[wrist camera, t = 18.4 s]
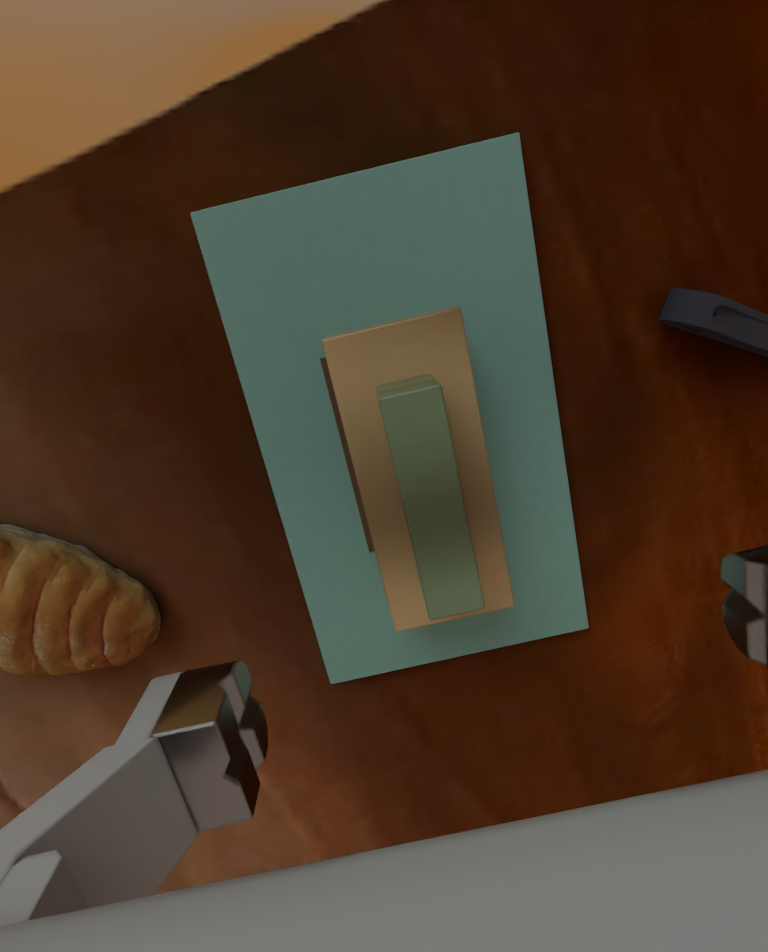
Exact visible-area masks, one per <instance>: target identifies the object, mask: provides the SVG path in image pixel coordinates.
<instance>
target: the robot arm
mask: <svg viewBox="0 0 768 952" xmlns="http://www.w3.org/2000/svg"><path fill="white" fill-rule="evenodd" d="M721 580H722V581H723V582H724V583H725V584H726V585H727V586H728V587H729V588H730V589H731V590H730V592H729V593H728V595H727V597H726V598H725V600H724V601H723V603H722V604H723V614H724V622H725V624H726V627H727V630H728V632H729V635H730V637H731V639H732V640H733V642H734V643H735V645H736V646H737V648H738V649H739V650H740V651H741V652H742V653H743V654H744V655H745V656H746V657H747V658H748V659H751V660H754V661H757V662H759V663H762V664H765V665H767V667H768V545H766V546H762V547H758V548H754V549H749V550H745V551H741V552H737V553H733V554H729V555H725V556H723V559H722V563H721ZM252 683H253V679H252V677H251V674H250V672H249V669H248V667H247V664H245V663H244V662H243V661H242V660H238V661H233V662H228V663H223V664H218V665H213V666H208V667H203V668H198V669H192V670H187V671H185V672H183V671H181V672H176V673H172V674H168V675H164V676H160V677H157V678H155V679H153V680H151V682H150V683H149V685H148V687H147V689H146V690H145V692H144V694H143V696H142V698H141V699H140V701H139V703H138V705H137V706H136V708H135V710H134V712H133V713H132V715H131V717H130V719H129V720H128V722H127V724H126V726H125V727H124V729H123V731H122V733H121V735H120V736H119V738H118V740H117V742H116V743H115V745H114V746H109V747H105V748H104V749H102V750H101V751H100V752H98V753H97V754H96V755H95V756H93V757H92V758H91V759H90V760H88V761H87V762H86V763H84V764H83V765H82V766H81V767H79V768H78V769H77V770H76V771H74V772H73V773H72V774H70V775H69V776H68V777H67V778H65V779H64V780H63V781H61V782H60V783H59V784H58V785H56V786H55V787H54V788H53V789H51V790H50V791H49V792H47V793H46V794H45V795H44V796H42V797H41V798H40V799H39V800H37V801H36V802H35V803H33V804H32V805H31V806H30V807H28V808H27V809H26V810H24V811H23V812H22V813H21V814H19V815H18V816H17V817H16V818H14V819H13V820H12V821H10V822H9V823H8V824H7V825H5V826H4V827H3V828H2V829H0V952H768V769H767V770H762V771H757V772H752V773H748V774H743V775H738V776H733V777H728V778H723V779H718V780H713V781H708V782H704V783H699V784H694V785H689V786H684V787H679V788H674V789H669V790H664V791H660V792H655V793H650V794H645V795H640V796H635V797H631V798H626V799H621V800H616V801H611V802H606V803H601V804H596V805H591V806H586V807H582V808H577V809H572V810H567V811H562V812H557V813H552V814H547V815H542V816H538V817H533V818H528V819H523V820H518V821H513V822H508V823H503V824H498V825H493V826H489V827H484V828H479V829H474V830H469V831H464V832H459V833H454V834H449V835H444V836H440V837H435V838H430V839H425V840H420V841H415V842H410V843H405V844H400V845H396V846H391V847H386V848H381V849H376V850H371V851H366V852H361V853H356V854H351V855H347V856H342V857H337V858H332V859H327V860H322V861H317V862H312V863H307V864H302V865H298V866H293V867H288V868H283V869H278V870H273V871H268V872H263V873H258V874H254V875H249V876H244V877H239V878H234V879H229V880H224V881H219V882H214V883H209V884H205V885H200V886H195V887H190V888H185V889H180V890H175V891H170V892H165V893H160V894H156V895H154V894H155V892H156V891H157V890H158V888H159V887H160V886H161V884H162V883H163V882H164V881H165V879H166V878H167V877H168V875H169V874H170V873H171V871H172V870H173V869H174V867H175V866H176V865H177V863H178V862H179V861H180V859H181V858H182V857H183V855H184V854H185V853H186V851H187V850H188V849H189V847H190V846H191V845H192V843H193V842H194V841H195V839H196V838H197V837H198V836H199V834H198V832H201V831H205V830H209V829H213V828H217V827H221V826H226V825H230V824H234V823H238V822H242V821H246V820H251V819H252V818H253V814H254V809H255V805H256V800H257V796H258V791H259V787H260V781H259V778H258V776H257V773H256V770H257V769H258V768H259V767H260V766H261V765H262V764H263V763H264V762H265V758H266V753H267V748H268V731H267V724H266V719H265V714H264V711H263V708H262V705H261V702H259V701H258V700H256V699H255V698H254V697H252V696H251V695H249V693H250V690H251V686H252Z"/></svg>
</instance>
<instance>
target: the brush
mask: <svg viewBox="0 0 768 952" xmlns="http://www.w3.org/2000/svg"><path fill="white" fill-rule="evenodd" d="M322 345H323V349H324V353H325V357H326V361H327V365H328V369H329V373H330V377H331V381H332V384H333V388H334V392H335V396H336V400H337V404H338V408H339V412H340V416H341V420H342V424H343V428H344V432H345V436H346V440H347V444H348V448H349V452H350V456H351V459H352V463H353V467H354V471H355V475H356V479H357V483H358V487H359V491H360V495H361V499H362V503H363V507H364V511H365V515H366V519H367V523H368V527H369V531H370V535H371V538H372V542H373V546H374V550H375V554H376V558H377V562H378V566H379V570H380V574H381V578H382V582H383V586H384V590H385V594H386V598H387V602H388V606H389V610H390V614H391V617H392V621H393V625H394V629H395V631H396V632H400V631H405V630H409V629H414V628H418V627H423V626H427V625H432V624H437V623H441V622H446V621H450V620H455V619H459V618H464V617H468V616H473V615H477V614H482V613H486V612H491V611H495V610H500V609H505V608H509V607H513V606H514V598H513V593H512V587H511V582H510V576H509V570H508V565H507V559H506V554H505V548H504V543H503V537H502V532H501V526H500V521H499V515H498V510H497V504H496V499H495V493H494V488H493V482H492V477H491V471H490V466H489V460H488V455H487V449H486V444H485V438H484V433H483V427H482V422H481V416H480V411H479V405H478V400H477V394H476V389H475V383H474V378H473V372H472V367H471V361H470V356H469V350H468V344H467V339H466V333H465V328H464V322H463V317H462V311H461V308H460V307H447V308H442V309H438V310H434V311H430V312H425V313H421V314H417V315H413V316H409V317H404V318H400V319H396V320H392V321H388V322H383V323H379V324H375V325H371V326H366V327H362V328H358V329H354V330H350V331H345V332H341V333H337V334H333V335H329V336H327V337H325V338H324V339H323V340H322Z"/></svg>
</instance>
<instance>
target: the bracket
mask: <svg viewBox="0 0 768 952" xmlns="http://www.w3.org/2000/svg"><path fill="white" fill-rule="evenodd" d="M658 321H659V322H661V323H663V324H665V325H668V326H671V327H674V328H677V329H680V330H683V331H686V332H689V333H693V334H696V335H699V336H702V337H705V338H708V339H712V340H715V341H718V342H721V343H724V344H727V345H731V346H734V347H737V348H740V349H743V350H746V351H750V352H753V353H756V354H759V355H762V356H765V357H768V315H767V314H764V313H762V312H759V311H757V310H754V309H752V308H750V307H747V306H745V305H742V304H740V303H738V302H736V301H734V300H731V299H729V298H726V297H723V296H719V295H715V294H711V293H707V292H702V291H696V290H689V289H679V288H675V289H670V291H669V294H668V296H667V299H666V301H665V304H664V306H663V309H662V311H661V314H660V316H659V319H658Z"/></svg>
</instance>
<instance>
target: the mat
mask: <svg viewBox="0 0 768 952" xmlns="http://www.w3.org/2000/svg"><path fill="white" fill-rule="evenodd" d="M190 215H191V218H192V221H193V225H194V228H195V231H196V235H197V238H198V242H199V245H200V248H201V252H202V255H203V258H204V262H205V265H206V268H207V272H208V275H209V278H210V282H211V285H212V288H213V292H214V295H215V298H216V302H217V305H218V309H219V312H220V315H221V319H222V322H223V325H224V329H225V332H226V335H227V339H228V342H229V345H230V349H231V352H232V355H233V359H234V362H235V365H236V369H237V372H238V376H239V379H240V382H241V386H242V389H243V392H244V396H245V399H246V402H247V406H248V409H249V412H250V416H251V419H252V422H253V426H254V429H255V432H256V436H257V439H258V443H259V446H260V449H261V453H262V456H263V459H264V463H265V466H266V469H267V473H268V476H269V479H270V483H271V486H272V489H273V493H274V496H275V499H276V503H277V506H278V510H279V513H280V516H281V520H282V523H283V526H284V530H285V533H286V536H287V540H288V543H289V546H290V550H291V553H292V556H293V560H294V563H295V566H296V570H297V573H298V577H299V580H300V583H301V587H302V590H303V593H304V597H305V600H306V603H307V607H308V610H309V613H310V617H311V620H312V623H313V627H314V630H315V633H316V637H317V640H318V643H319V647H320V650H321V654H322V657H323V660H324V664H325V667H326V670H327V674H328V677H329V680H330V684H335V683H339V682H344V681H349V680H353V679H358V678H362V677H367V676H372V675H376V674H381V673H385V672H390V671H395V670H399V669H404V668H408V667H413V666H417V665H422V664H427V663H431V662H436V661H440V660H445V659H450V658H454V657H459V656H463V655H468V654H473V653H477V652H482V651H486V650H491V649H495V648H500V647H505V646H509V645H514V644H518V643H523V642H528V641H532V640H537V639H541V638H546V637H551V636H555V635H560V634H564V633H569V632H573V631H578V630H583V629H587V628H589V626H588V619H587V612H586V605H585V598H584V591H583V584H582V576H581V569H580V562H579V555H578V548H577V541H576V534H575V527H574V520H573V512H572V505H571V498H570V491H569V484H568V477H567V470H566V463H565V455H564V448H563V441H562V434H561V427H560V420H559V413H558V406H557V398H556V391H555V384H554V377H553V370H552V363H551V356H550V349H549V341H548V334H547V327H546V320H545V313H544V306H543V299H542V292H541V285H540V277H539V270H538V263H537V256H536V249H535V242H534V235H533V228H532V220H531V213H530V206H529V199H528V192H527V185H526V178H525V171H524V163H523V156H522V149H521V142H520V135H519V133H518V132H517V133H513V134H509V135H505V136H501V137H497V138H493V139H489V140H485V141H481V142H477V143H472V144H468V145H464V146H460V147H456V148H452V149H448V150H444V151H440V152H436V153H432V154H428V155H423V156H419V157H415V158H411V159H407V160H403V161H399V162H395V163H391V164H387V165H383V166H379V167H374V168H370V169H366V170H362V171H358V172H354V173H350V174H346V175H342V176H338V177H334V178H329V179H325V180H321V181H317V182H313V183H309V184H305V185H301V186H297V187H293V188H289V189H285V190H280V191H276V192H272V193H268V194H264V195H260V196H256V197H252V198H248V199H244V200H240V201H236V202H231V203H227V204H223V205H219V206H215V207H211V208H207V209H203V210H199V211H195V212H191V213H190ZM447 307H460V308H461V311H462V317H463V322H464V328H465V333H466V339H467V344H468V350H469V356H470V361H471V367H472V372H473V378H474V383H475V389H476V394H477V400H478V405H479V411H480V416H481V422H482V427H483V433H484V438H485V444H486V449H487V455H488V460H489V466H490V471H491V477H492V482H493V488H494V493H495V499H496V504H497V510H498V515H499V521H500V526H501V532H502V537H503V543H504V548H505V554H506V559H507V565H508V570H509V576H510V582H511V587H512V593H513V598H514V606H513V607H509V608H505V609H500V610H495V611H491V612H486V613H482V614H477V615H473V616H468V617H464V618H459V619H455V620H450V621H446V622H441V623H437V624H432V625H427V626H423V627H418V628H414V629H409V630H405V631H400V632H396V631H395V629H394V625H393V621H392V617H391V614H390V610H389V606H388V602H387V598H386V594H385V590H384V586H383V582H382V578H381V574H380V570H379V566H378V562H377V558H376V554H375V550H374V546H373V542H372V538H371V535H370V531H369V527H368V523H367V519H366V515H365V511H364V507H363V503H362V499H361V495H360V491H359V487H358V483H357V479H356V475H355V471H354V467H353V463H352V459H351V456H350V452H349V448H348V444H347V440H346V436H345V432H344V428H343V424H342V420H341V416H340V412H339V408H338V404H337V400H336V396H335V392H334V388H333V384H332V381H331V377H330V373H329V369H328V365H327V361H326V357H325V353H324V349H323V345H322V340H323V339H324V338H325V337H327V336H329V335H333V334H337V333H341V332H345V331H350V330H354V329H358V328H362V327H366V326H371V325H375V324H379V323H383V322H388V321H392V320H396V319H400V318H404V317H409V316H413V315H417V314H421V313H425V312H430V311H434V310H438V309H442V308H447Z"/></svg>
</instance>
